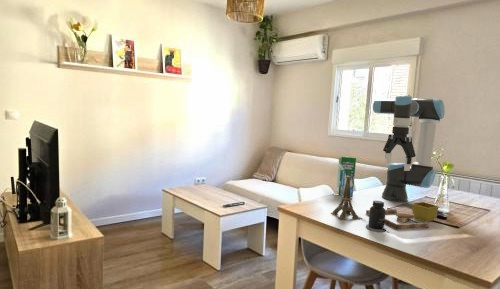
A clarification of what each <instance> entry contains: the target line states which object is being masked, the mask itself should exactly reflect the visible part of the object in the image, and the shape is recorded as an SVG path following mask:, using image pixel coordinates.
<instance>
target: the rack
mask: <svg viewBox="0 0 500 289" xmlns="http://www.w3.org/2000/svg"><path fill="white" fill-rule="evenodd" d="M384 209H385V210H386V213H385V215H389V214H390V215H393V214H394V215H395V213H396V211H398V210H397V209H396V208H394V209H393V208H391V209H386V208H384ZM365 213H366V216H369V213H370V209H366V211H365ZM408 221H410V222H413V223H396V222H394V221H392V220H389V219H387V218H385V223H384V225H387V226H389V227H391V228H392V229H394V230H396V231H397V230H412V229H413V230H414V229H428V228H429V227H430V223H429V222H420V221H417V220H415V219H410V218H409V220H408Z"/></svg>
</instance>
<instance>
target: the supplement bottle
mask: <svg viewBox="0 0 500 289" xmlns="http://www.w3.org/2000/svg"><path fill="white" fill-rule="evenodd" d="M384 207H385V202H383V201H382V200H372V206H371V207H370V208H369V210H370V213H369V215H368V222H367V224H368V225H369V227H371V228H374V229H383V228H384V227H385V224H384V223H385V219H386V214H385V213H386V210H385V209H386V208H384ZM384 229H385V228H384Z"/></svg>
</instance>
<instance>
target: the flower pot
mask: <svg viewBox="0 0 500 289" xmlns="http://www.w3.org/2000/svg"><path fill="white" fill-rule="evenodd" d="M411 205H412V213H413V214H414V219H416V220H419V221H422V222H423V223H429V222H433V221H434V220H435V219H436V217H437V216H438V215H437V214H438V210H439V206H438V205H435V204H432V203H428V202H426V201H420V202H412V203H411Z"/></svg>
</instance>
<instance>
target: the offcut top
mask: <svg viewBox="0 0 500 289" xmlns="http://www.w3.org/2000/svg"><path fill="white" fill-rule="evenodd" d="M394 215H395V216H396V218H397V217H403V218H410V219H413V220H415V218H414V214H413V212H409V211H403V210H402V211H401V210H397V211H396V213H395V214H394Z"/></svg>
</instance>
